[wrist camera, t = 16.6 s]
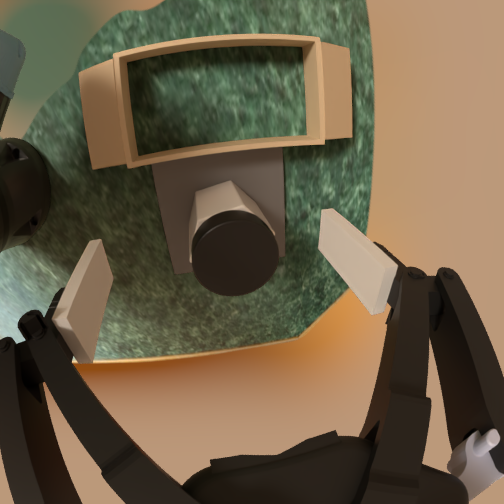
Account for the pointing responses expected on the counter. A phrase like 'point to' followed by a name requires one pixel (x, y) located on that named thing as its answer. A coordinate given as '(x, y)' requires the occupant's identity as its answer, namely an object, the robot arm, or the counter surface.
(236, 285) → the jar
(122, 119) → the carton
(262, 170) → the mat
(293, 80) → the counter surface
